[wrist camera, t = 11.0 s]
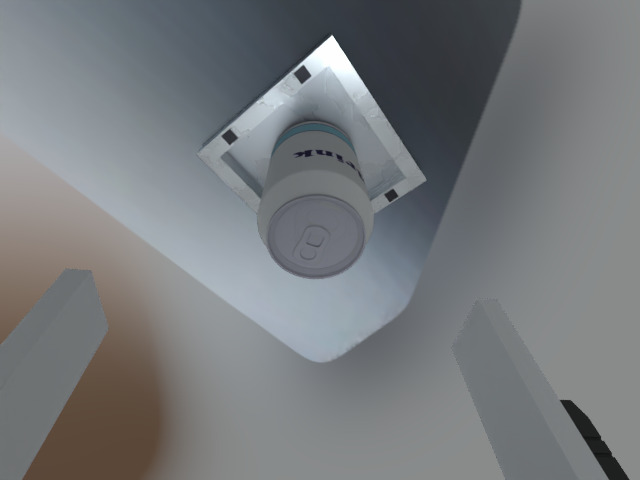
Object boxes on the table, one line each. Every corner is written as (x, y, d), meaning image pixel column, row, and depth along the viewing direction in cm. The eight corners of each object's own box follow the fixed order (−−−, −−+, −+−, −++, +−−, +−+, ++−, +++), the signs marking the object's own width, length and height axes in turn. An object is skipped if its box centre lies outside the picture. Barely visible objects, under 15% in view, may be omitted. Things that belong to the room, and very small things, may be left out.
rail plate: (202, 145, 29) (195, 154, 27) (330, 33, 25) (332, 35, 23) (303, 247, 35) (303, 260, 33) (420, 170, 31) (427, 180, 29)
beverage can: (369, 136, 29) (401, 210, 19) (334, 207, 32) (346, 299, 22) (288, 103, 27) (277, 163, 17) (261, 180, 31) (238, 268, 21)
